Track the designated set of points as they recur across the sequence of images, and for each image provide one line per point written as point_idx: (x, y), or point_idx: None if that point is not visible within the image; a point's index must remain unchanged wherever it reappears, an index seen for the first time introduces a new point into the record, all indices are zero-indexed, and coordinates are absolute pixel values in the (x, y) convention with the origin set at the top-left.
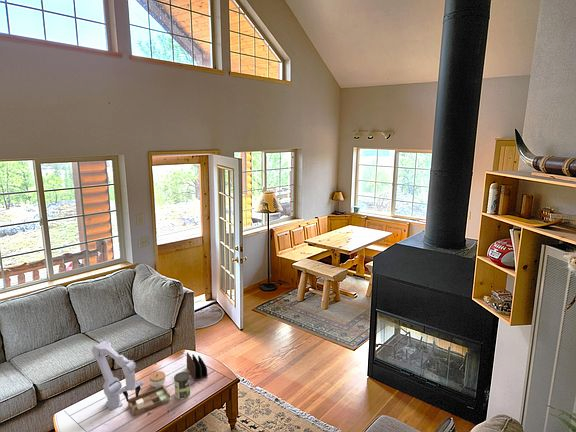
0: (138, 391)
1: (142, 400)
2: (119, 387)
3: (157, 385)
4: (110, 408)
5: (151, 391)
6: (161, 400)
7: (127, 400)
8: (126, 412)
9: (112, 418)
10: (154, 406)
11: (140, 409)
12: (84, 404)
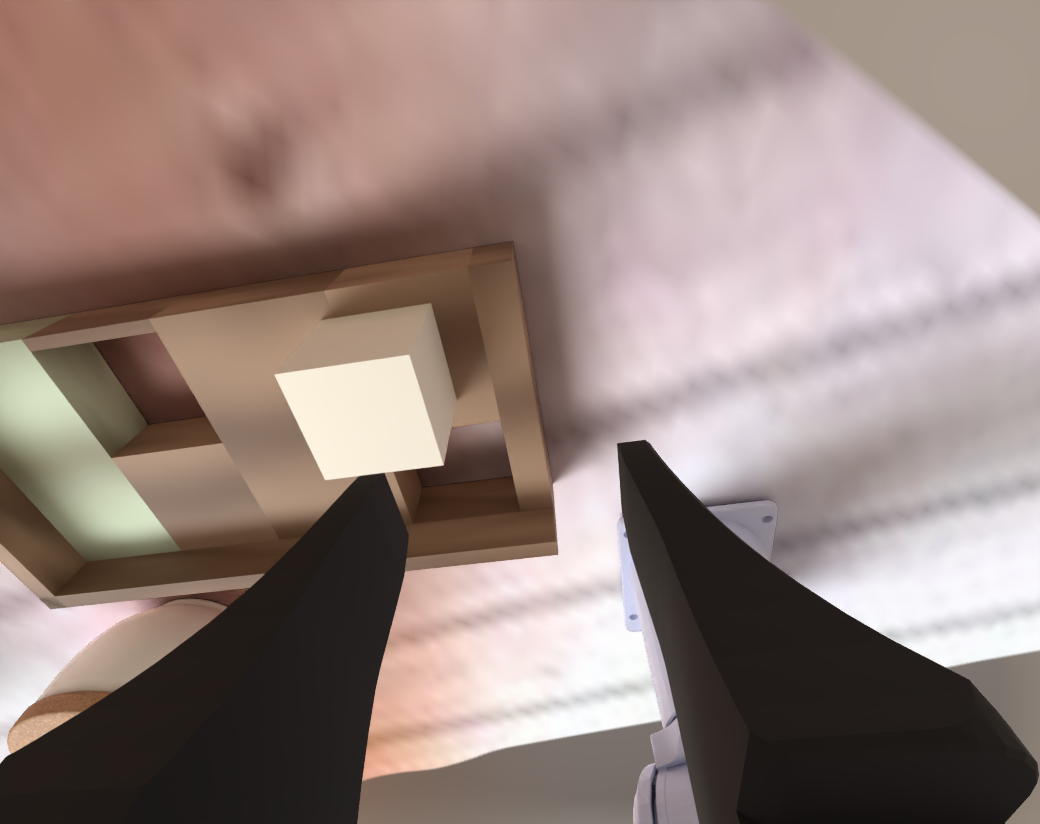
0: (203, 656)
1: (308, 418)
2: (682, 815)
3: (163, 630)
4: (762, 519)
5: (217, 570)
6: (24, 344)
7: (654, 462)
8: (602, 373)
9: (808, 343)
10: (178, 298)
11: (389, 285)
12: (929, 657)
